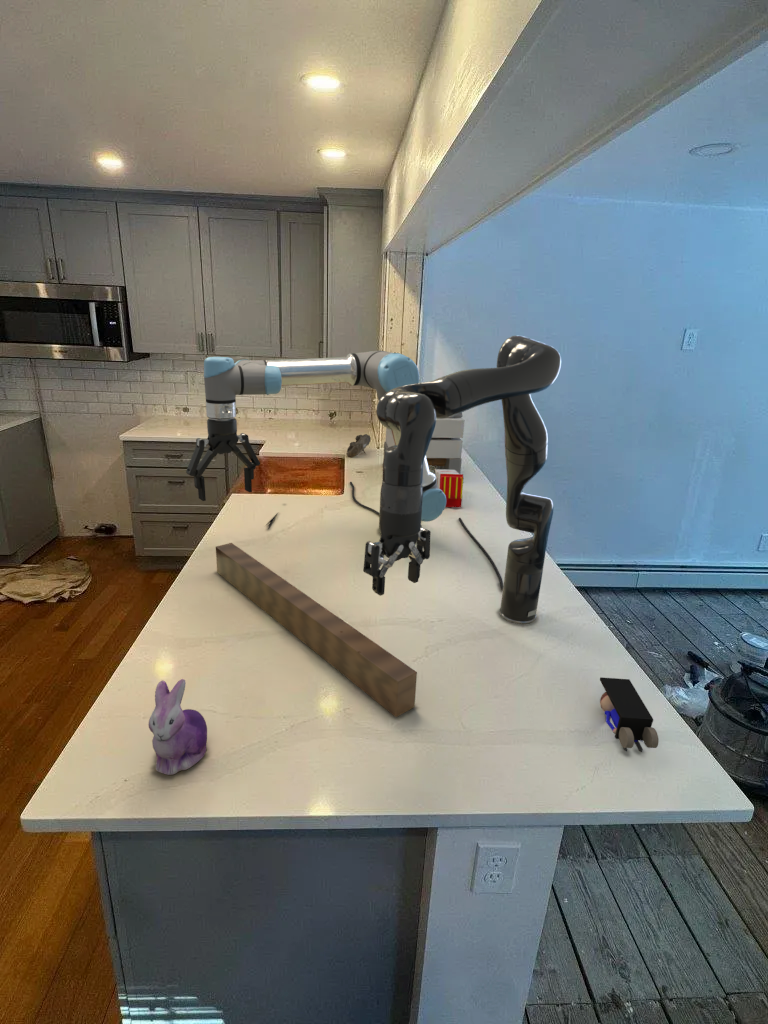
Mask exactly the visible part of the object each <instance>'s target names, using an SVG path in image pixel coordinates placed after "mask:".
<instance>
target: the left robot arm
mask: <svg viewBox="0 0 768 1024" xmlns="http://www.w3.org/2000/svg"><path fill="white" fill-rule="evenodd" d="M203 382H204V395H205V409H206V410H205V412H206V413H205V414H206V417H207V420H206V429H207V438H200V437H197V438H196V439H195V448H194V451H193V453H192V456H191V458H190V461H189V463H188V465H187V468H186V470H185V473H186V474H187V475H189V476H190V477H193V482H194V487H195V488H196V489H197V495H198V499H199V500H201V501H202V502H205V501H206V499H207V497H206V484H205V483H206V482H205V476H203V474H204V472H205V471H206V470H207V468H208V467H209V465H211V462H212V461H213V459H214V458H215V457H216V456H217V455H223V454H231V453H233V454H234V455H235V456H237V458H238V459H239V460H240V461H241V462H242V464H244V465H245V466H246V467H243V473H244V474H243V477H244V478H243V481H244V490H245V491H246V492H248V493H252V492H253V485H252V483H253V482H252V480H254V479H255V470H256V469H257V467H259V466H260V465H261V462H260V459H258V457H257V454H256V452H255V451H254V449H253V447H252V445H251V443H250V439H249V435H248V434H246V433H245V432H241V433H239V434H238V422H237V421H238V420H237V419H236V417H237V402H236V396H246V395H247V396H248V395H250V396H251V395H252V396H253V395H255V396H257V395H260V396H261V395H266V396H269V395H276V394H279V393H280V392H281V390H282V387H287V386H306V385H327V384H347V385H348V386H350V387H352V386H353V387H354V386H355V387H357V386H358V387H359V386H360V387H366V388H370V389H374V390H375V392H376V396H377V400H378V401H379V400H380V399H381V397H382V396H383V395H384V394H385V393H386V392H388V391H390V390H391V389H394V388H397V387H400V386H405V385H410V384H416V383H420V370H419V367H418V366H417V364H416V363H415V362H414V360H413V359H412V358H411V357H409V356H407V355H405V354H403V353H400V352H391V351H386V350H371V351H363V352H353V353H352V352H351V353H347V354H346V355H345V356H339V357H312V358H311V357H309V358H282V359H280V358H279V359H257V360H256V359H255V360H250V359H248V358H247V359H246V358H244V359H239V360H237V361H235V360H234V359H233V358H232V357H230V356H229V357H228V356H208V357H206V358H205V359H204V360H203ZM391 431H392V435H393V439H394V443H395V445H398V443H399V440H400V436H401V433H400V432H396V431H393V430H391ZM238 442H240V443H241V445H242V447H243V449H244V451H245V452H246V454H247V456H246V455H245V454H244V453H243V452H242V451H241V449H240V448H239V447H238V446H237V443H238ZM207 445H208V446H209V447H208V448H207V450H206V453H205V454H204V455H203V453H204V450H205V448H206V447H207ZM349 484H350V486H351V498H352V500H353V501H354V502H355V503H356V504H357V505H358V506H360V507H362V508H364V509H366V510H369V511H371V512H373V513H374V514H376V515H378V516H379V513H380V511H378V510H375V509H374V508H372V507H369V506H367V505H364V504H362V503H361V502H359V501H358V500H357V499H356V497H355V485H354V484H353V482H352V481H350V482H349ZM422 487H423V502H422V517H421V522H425V523H426V522H427V523H429V522H433V521H435V520H436V519H438V518H439V517H440V516H441V515H442V514H443V511H445V508H446V507H445V506H446V496H445V494H444V493H443V491H442V490H441V489H438V485H437V481H436V477H435V472H432V471H430V466H429V465H428V463H427V458H426V455H425V458H424V467H423V481H422ZM421 527H423V525H422V524H421ZM378 533H379V534H380V535H381V532H380V529H379V528H378Z"/></svg>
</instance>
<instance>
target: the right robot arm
mask: <svg viewBox="0 0 768 1024" xmlns="http://www.w3.org/2000/svg"><path fill="white" fill-rule="evenodd" d="M561 367H562V357H561V354H560V352H559V351H558V349H556V348H555V347H553V346H552V345H549V344H547V343H544V342H542V341H538V340H535V339H533V338H530V337H527V336H523V335H511V336H510V337H508V338H506V339H505V340H504V342H503V343H502V344H501V346H500V348H499V351H498V354H497V357H496V367H485V368H484V367H481V368H469V369H463V370H457V371H455V372H453V373H449V374H447V375H446V374H445V375H444V376H441V377H438V378H435V379H434V380H429V381H424V382H423V381H422V382H419V383H416V384H410V385H405V386H400V387H397V388H394V389H391V390H390V391H388V392H386V393H385V394H384V395H383V396H382V397H381V399H380V400H378V402H377V405H376V410H375V411H376V418H377V420H378V422H379V423H380V424H381V425H382V426H383V427H384V428H385V429H386V428H388V429H390V430H393V431H396V432H400V433H401V436H400V440H399V443H398V445H395V446H391V447H389V448H387V449H386V451H385V453H384V452H383V458H382V459H383V460H382V480H381V487H380V492H379V493H380V494H379V515H378V516H379V518H378V530H379V529H380V532H381V534H380V538H379V541H375V542H372V541H371V540H368V541H366V542H365V548H364V559H363V572H364V573H365V574H367V575H369V576H370V577H372V587H371V589H372V591H373V592H374V594H377V595H378V596H379V597H380V596H383V595H385V591H386V590H385V588H386V585H385V584H386V574H387V573H388V570H389V569H390V568H392V567H393V565H394V564H395V562H398V561H399V560H401V559H406V558H408V559H409V560H410V561H408V570H407V580H408V581H410V582H411V583H413V584H416V583H418V582H419V579H420V577H421V566H422V564H423V563H424V560H429V559H430V557H431V536H432V535H431V533H432V532H431V530H429V529H427V528H425V527H423V526H422V527H421V525H422V521H421V517H422V502H423V487H422V481H423V467H424V458H425V455H426V453H427V450H428V447H429V444H430V441H431V438H432V435H433V432H434V429H435V425H436V418H437V419H445V418H449V417H452V416H454V415H457V414H459V413H462V414H463V413H464V412H466V411H468V410H471V409H473V408H476V407H479V406H483V405H486V404H489V403H493V402H497V401H501V405H502V417H503V428H504V455H505V466H506V468H505V469H506V502H505V519H506V524H507V526H508V527H510V528H511V529H513V530H516V531H521V532H526V533H530V534H533V536H530V537H527V538H519V539H514V540H512V541H511V542H510V543H509V544H508V547H507V552H506V553H507V555H506V562H505V570H504V579H503V578H502V576H501V574H500V571H499V569H498V567H497V566H496V563H495V562H494V560H493V559H492V557H491V556H490V555H489V553H488V552H487V550H486V549H485V548H484V547H483V545H482V544H481V543H480V542H479V540H477V538H476V537H475V536H474V535H473V534H472V532H471V531H470V529H468V527H467V526H466V525H465V523H464V521H463V519H462V518H461V517H458V521H459V523H460V525H461V526H462V528H463V529H464V531H465V532H466V534H468V536H469V537H470V538H471V539H472V541H473V542H474V543H475V544H476V546H477V547H478V548H479V549H480V550H481V551H482V553H483V554H484V556H485V557H486V558H487V560H488V562H489V564H490V565H491V566H492V568H493V570H494V572H495V574H496V577H497V579H498V582H499V588H500V590H501V591H502V592H501V593H502V594H501V600H500V609H499V616H500V617H501V618H502V619H503V620H504V621H506V622H508V623H511V624H514V625H523V626H524V625H531V624H533V623H534V622H535V621H536V620H537V611H538V605H539V599H540V593H541V584H542V579H543V573H544V566H545V559H546V553H547V546H548V541H549V535H550V530H551V525H552V520H553V515H554V508H555V507H554V501H553V500H552V499H551V498H550V497H546V496H541V495H535V494H529V493H525V492H524V488H525V487H526V485H527V484H528V483H529V482H530V481H531V480H532V479H533V478H534V477H535V476H537V474H538V473H539V472H540V471H541V470H542V469H543V468H544V466H545V465H546V463H547V460H548V452H549V451H548V449H549V448H548V447H549V437H548V436H549V435H548V430H547V427H546V425H545V422H544V420H543V418H542V416H541V414H540V413H539V410H538V409H537V407H536V405H535V403H534V402H533V399H532V394H537V393H540V392H543V391H545V390H546V389H548V388H549V387H550V386H552V384H554V382H555V381H556V379H557V378H558V376H559V373H560V371H561ZM380 532H379V533H380ZM384 557H386V558H388V559H384Z"/></svg>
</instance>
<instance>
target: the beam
mask: <svg viewBox="0 0 768 1024" xmlns="http://www.w3.org/2000/svg"><path fill="white" fill-rule="evenodd" d="M215 557H216V558H215V559H216V573H217V574H218V575H219V576H221V578H223V579H224V580H225V581H227V582H228V583H229V584H231V585H232V586H233V587H234V588H235V589H237V590H238V591H239V592H240V593H242V594H243V595H244V596H246V598H247V599H249V600H250V601H252V602H253V603H254V604H255V605H257V607H259V608H260V609H262V610H263V611H264V612H265V613H266V614H268V615H269V616H270V617H271V618H272V619H273V620H275V621H276V622H278V623H279V624H280V625H281V626H282V627H284V628H285V629H286V630H288V632H290V633H291V634H292V635H294V636H295V637H296V638H297V639H298V640H300V641H301V642H302V643H303V644H305V645H306V646H307V647H308V648H309V649H310V650H312V651H313V652H315V654H317V655H318V656H319V657H320V658H322V659H323V660H324V661H325V662H327V663H328V664H329V665H331V666H332V667H333V668H334V669H336V670H337V671H338V672H339V673H341V674H342V675H343V676H344V677H345V678H347V679H348V680H349V681H350V682H351V683H353V684H354V685H355V686H356V687H358V688H359V689H360V690H362V691H363V692H364V693H365V694H366V695H367V696H369V697H370V698H371V699H372V700H374V701H375V702H376V703H378V705H380V706H381V707H382V708H383V709H384V710H386V711H388V713H390V714H391V715H392V716H393V717H394V718H398V717H399V716H401V715H403V714H405V713H407V712H408V711H410V710H412V709H413V708H415V706H416V705H415V704H416V690H417V680H418V679H417V675H418V671H417V670H415V669H414V668H412V667H411V666H409V665H407V664H406V663H405V662H403V661H402V660H400V659H399V658H397V657H396V656H395V655H393V654H392V653H390V652H389V651H387V649H385V648H383V647H382V646H380V645H379V644H378V643H376V642H375V641H373V640H372V639H371V638H369V637H368V636H366V635H364V634H363V633H362V632H360V631H359V630H358V629H356V628H354V627H353V626H352V625H350V624H349V623H347V622H346V621H344V620H343V619H342V618H340V617H339V616H338V615H336V614H334V613H333V612H331V610H329V609H327V608H326V607H324V606H323V605H321V604H320V603H318V601H316V600H314V599H313V598H312V597H310V596H309V595H308V594H305V592H303V591H301V590H300V589H299V588H297V587H296V586H295V585H293V584H292V583H290V582H289V581H287V580H286V579H284V578H283V577H281V576H280V575H279V574H277V573H276V572H274V571H273V570H271V569H270V568H268V567H267V566H266V565H265V564H263V563H261V562H260V561H258V560H257V559H256V558H254V557H253V556H252V555H250V554H248V553H247V552H246V551H244V550H243V549H242V548H240V547H238V546H237V545H235V543H233V542H229V543H225V544H224V543H223V544H221V545H217V546H215Z"/></svg>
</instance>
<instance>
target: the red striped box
mask: <svg viewBox="0 0 768 1024" xmlns="http://www.w3.org/2000/svg"><path fill="white" fill-rule="evenodd" d="M434 474H435V477H436V481H437V485H438V489H441V490H442V491H443V493H444V494H445V496H446V506H445V508H462V502H463V501H462V500H463V490H464V474H463V473H461V474H459V473H458V472H457V471H456V470H447V469H438V468H435V469H434Z"/></svg>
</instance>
